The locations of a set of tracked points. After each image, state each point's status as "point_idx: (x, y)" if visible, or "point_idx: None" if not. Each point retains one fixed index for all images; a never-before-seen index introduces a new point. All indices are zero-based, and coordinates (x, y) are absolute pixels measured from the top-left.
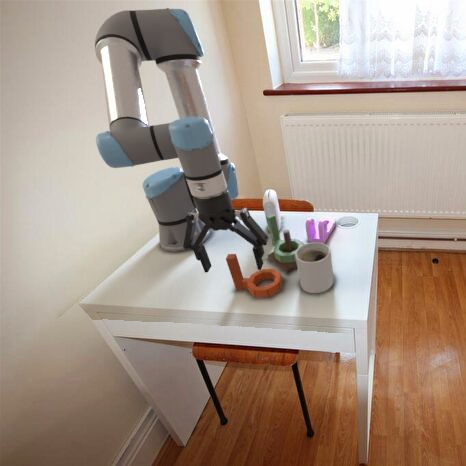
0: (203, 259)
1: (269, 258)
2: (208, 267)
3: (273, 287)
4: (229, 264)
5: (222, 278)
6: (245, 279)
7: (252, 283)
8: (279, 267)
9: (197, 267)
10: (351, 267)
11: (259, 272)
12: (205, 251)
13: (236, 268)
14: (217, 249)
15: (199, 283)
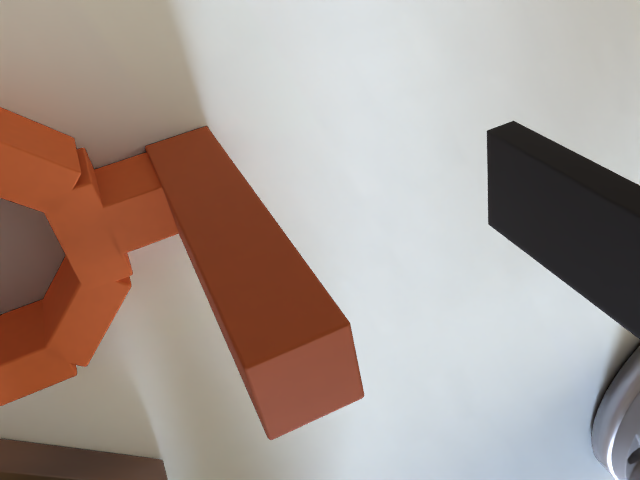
0: (612, 212)
1: (139, 473)
2: (506, 181)
3: None
4: (288, 278)
5: (380, 204)
6: (145, 226)
7: (35, 203)
8: (6, 441)
9: None
10: None
11: (72, 338)
12: (638, 321)
13: (202, 269)
14: (517, 388)
15: (510, 115)
